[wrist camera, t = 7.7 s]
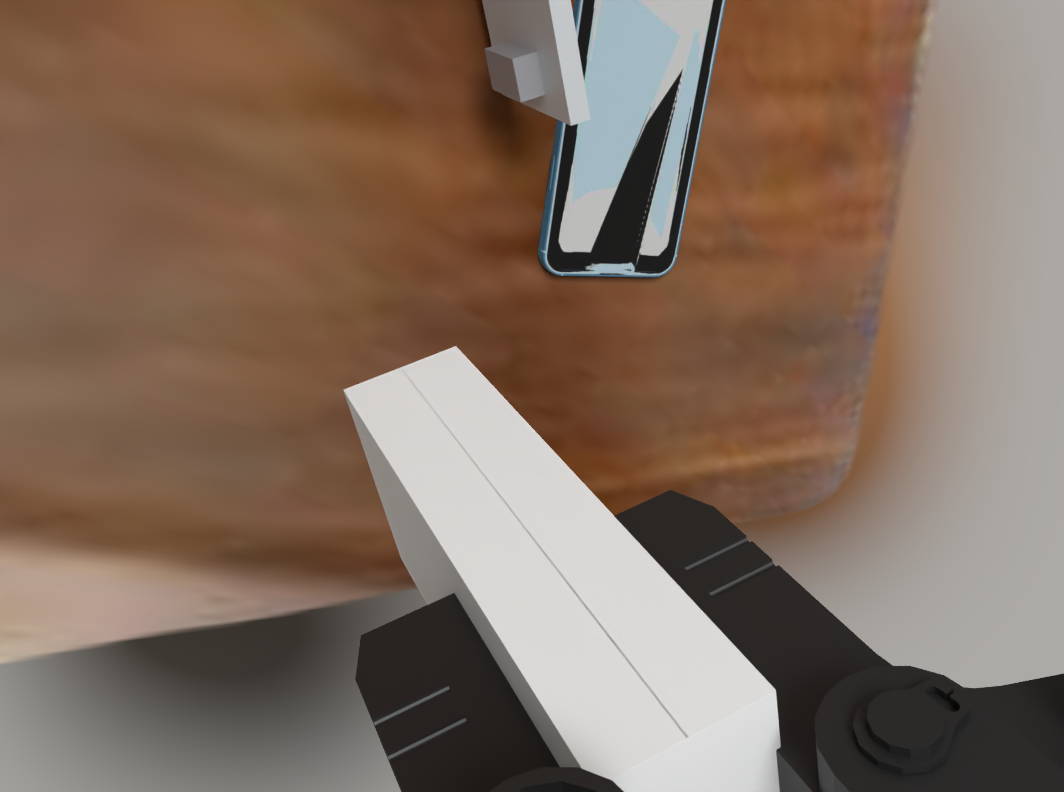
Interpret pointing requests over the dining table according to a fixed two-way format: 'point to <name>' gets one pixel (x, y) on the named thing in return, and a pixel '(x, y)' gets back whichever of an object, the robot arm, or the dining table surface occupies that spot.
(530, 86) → the door
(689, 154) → the smartphone
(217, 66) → the dining table surface
